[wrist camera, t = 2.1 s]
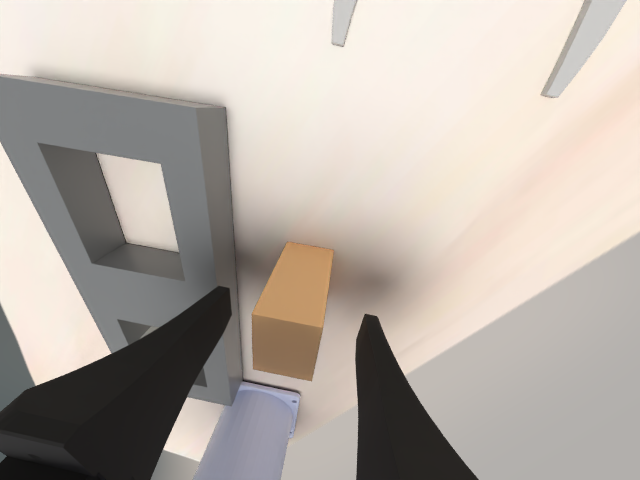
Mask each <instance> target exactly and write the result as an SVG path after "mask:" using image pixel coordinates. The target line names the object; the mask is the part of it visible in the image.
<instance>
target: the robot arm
mask: <svg viewBox="0 0 640 480" xmlns="http://www.w3.org/2000/svg"><path fill="white" fill-rule="evenodd" d="M231 316H232V309H231V298H230V288H228V287H223V286H217V287H216V288H215V289H213V290H212V291H210V292H209V293H208V294H206V295H205V296H204V297H202V298H201V299H200V300H198V301H197V302H196V303H194V304H193V305H192V306H190V307H189V308H187V309H186V310H185V311H183V312H182V313H180V314H179V315H177V316H176V317H174V318H173V319H171V320H170V321H168V322H167V323H165V324H164V325H162V326H161V327H159V328H157V329H156V330H154V331H153V332H151V333H149V334H148V335H146V336H144V337H142V338H141V339H139V340H137V341H135V342H133V343H132V344H130V345H128V346H126V347H124V348H122V349H120V350H118V351H116V352H114V353H112V354H110V355H108V356H106V357H104V358H102V359H100V360H97V361H95V362H93V363H91V364H89V365H86V366H84V367H82V368H79V369H77V370H75V371H73V372H70V373H68V374H65V375H63V376H60V377H58V378H55V379H53V380H50V381H48V382H45V383H42V384H40V385H37V386H35V387H32V388H30V389H27V390H25V391H24V392H23V393H22V394H21V395H20V396H18V397H17V398H16V399H15V400H14V401H12V402H11V403H10V404H9V405H8V406H7V407H5V408H4V409H3V410H2V411H1V412H0V452H2V453H3V454H5V455H6V456H7V457H6V458H5V459H4V460H3V461H2V462H1V463H0V480H150V479H151V477H152V474H153V472H154V469H155V467H156V465H157V462H158V460H159V457H160V455H161V453H162V450H163V448H164V446H165V444H166V441H167V439H168V437H169V435H170V432H171V430H172V428H173V426H174V423H175V421H176V419H177V417H178V415H179V413H180V411H181V409H182V406H183V404H184V402H185V400H186V398H187V396H188V394H189V392H190V390H191V388H192V386H193V384H194V382H195V380H196V378H197V377H198V375H199V373H200V371H201V370H202V368H203V367H204V365H205V363H206V362H207V360H208V358H209V357H210V355H211V353H212V352H213V350H214V348H215V347H216V345H217V343H218V342H219V340H220V338H221V337H222V335H223V333H224V331H225V329H226V327H227V325H228V323H229V320H230V318H231ZM355 361H356V379H357V396H358V418H359V419H358V451H357V452H358V453H357V476H356V480H478V478H477V477H476V476H475V475H474V474H473V472H472V471H471V470H470V469H469V468H468V466H467V465H466V464H465V463H464V462H463V460H462V459H461V458H460V457H459V455H458V454H457V453H456V452H455V450H454V449H453V448H452V446H451V445H450V444H449V442H448V441H447V440H446V438H445V437H444V436H443V434H442V433H441V431H440V430H439V429H438V427H437V426H436V425H435V423H434V422H433V421H432V419H431V418H430V416H429V415H428V413H427V412H426V410H425V409H424V407H423V406H422V404H421V403H420V401H419V400H418V398H417V396H416V395H415V393H414V391H413V390H412V388H411V386H410V385H409V383H408V381H407V380H406V378H405V376H404V374H403V372H402V370H401V368H400V367H399V365H398V363H397V361H396V359H395V357H394V354H393V352H392V350H391V348H390V346H389V344H388V342H387V339H386V337H385V335H384V332H383V330H382V327H381V325H380V322H379V319H378V317H377V316H373V315H368V314H365V315H364V318H363V321H362V324H361V327H360V330H359V333H358V336H357V339H356V358H355ZM299 401H300V395H299V394H298V393H296V392H291V391H286V390H281V389H277V388H272V387H267V386H262V385H257V384H252V383H248V382H243V381H242V382H241V385H240V387H239V390H238V392H237V395H236V397H235V400H234V402H233V404H232V406H227V405H225V406H224V408H223V411H222V413H221V415H220V418H219V420H218V422H217V425H216V427H215V429H214V432H213V434H212V436H211V438H210V441H209V443H208V445H207V448H206V450H205V452H204V455H203V457H202V459H201V462H200V464H199V466H198V469H197V471H196V473H195V476H194V478H193V480H280V479H281V474H282V469H283V464H284V459H285V454H286V449H287V444H288V439H289V438H292V437H293V435H294V430H295V424H296V418H297V412H298V407H299Z"/></svg>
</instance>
